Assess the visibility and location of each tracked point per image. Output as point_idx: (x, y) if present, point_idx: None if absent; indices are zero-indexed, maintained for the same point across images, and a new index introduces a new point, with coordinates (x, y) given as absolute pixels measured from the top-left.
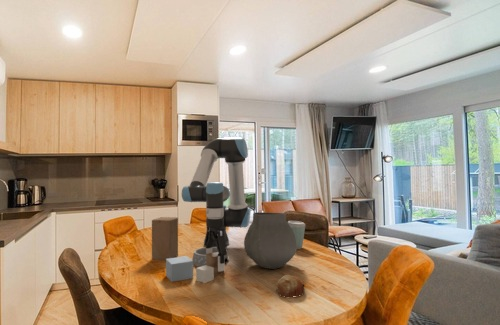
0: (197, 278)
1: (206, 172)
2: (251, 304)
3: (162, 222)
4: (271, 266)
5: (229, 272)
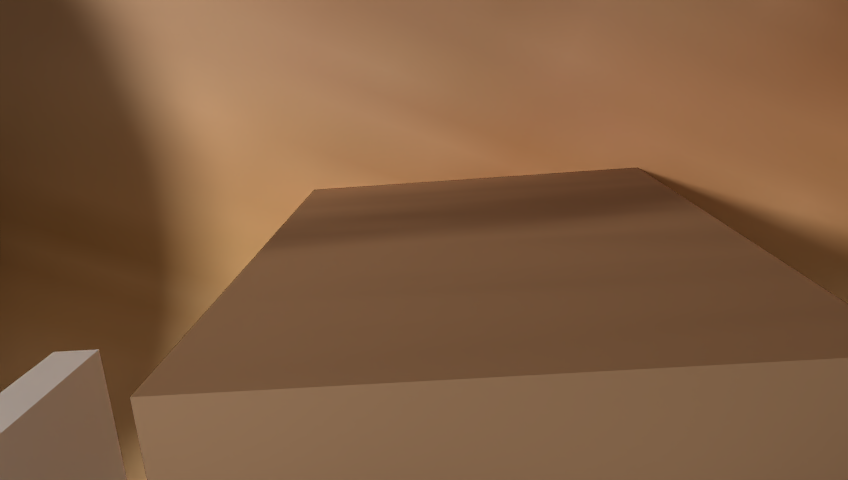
0: None
1: None
2: None
3: None
4: None
5: (617, 20)
